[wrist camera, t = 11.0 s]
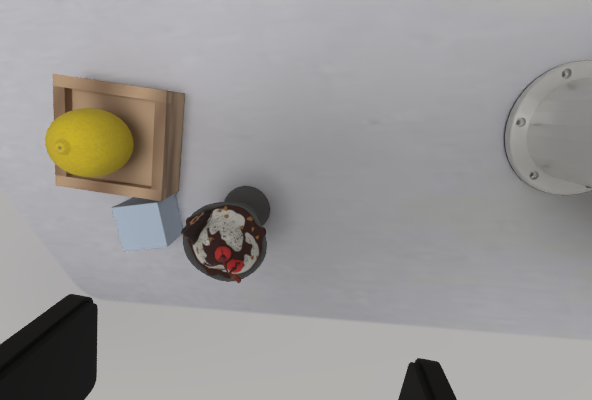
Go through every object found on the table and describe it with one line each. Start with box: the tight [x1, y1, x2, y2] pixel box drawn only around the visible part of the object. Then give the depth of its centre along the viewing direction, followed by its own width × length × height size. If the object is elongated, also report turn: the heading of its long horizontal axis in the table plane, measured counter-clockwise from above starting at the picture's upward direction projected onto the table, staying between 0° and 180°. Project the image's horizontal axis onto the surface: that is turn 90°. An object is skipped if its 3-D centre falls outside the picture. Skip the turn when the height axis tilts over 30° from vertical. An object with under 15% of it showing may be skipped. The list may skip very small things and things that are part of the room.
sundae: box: [181, 186, 270, 283], centre depth 30 cm, size 7×7×15 cm
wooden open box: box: [53, 74, 185, 201], centre depth 34 cm, size 10×10×4 cm
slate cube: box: [112, 193, 183, 252], centre depth 36 cm, size 4×4×4 cm
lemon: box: [45, 108, 134, 177], centre depth 28 cm, size 6×6×8 cm
